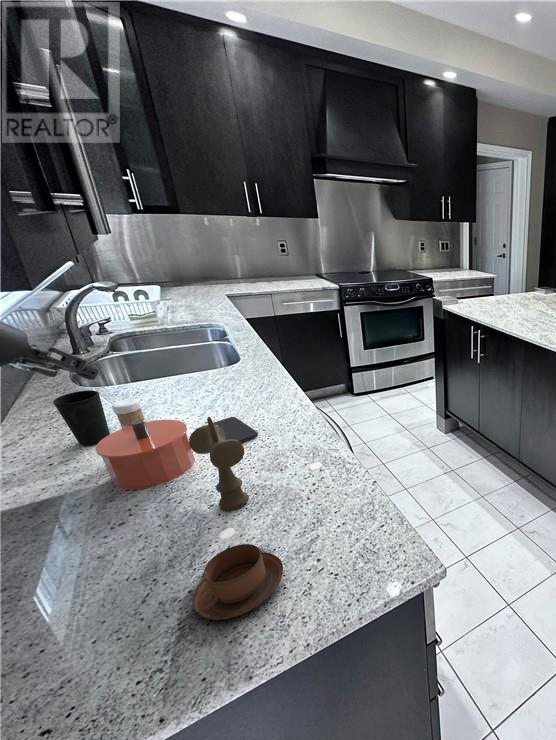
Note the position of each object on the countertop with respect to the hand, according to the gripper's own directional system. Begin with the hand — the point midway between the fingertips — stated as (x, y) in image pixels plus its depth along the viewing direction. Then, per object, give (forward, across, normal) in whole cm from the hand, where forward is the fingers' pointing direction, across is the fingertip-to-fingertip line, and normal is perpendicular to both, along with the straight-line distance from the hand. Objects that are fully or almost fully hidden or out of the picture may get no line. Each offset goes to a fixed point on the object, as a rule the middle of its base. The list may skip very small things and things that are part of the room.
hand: (75, 374), depth 81 cm
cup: (+24, +16, +10) cm, 30 cm away
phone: (+29, -14, +4) cm, 32 cm away
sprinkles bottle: (+21, 0, +12) cm, 24 cm away
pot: (+16, -11, +17) cm, 26 cm away
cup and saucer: (-2, -48, +35) cm, 60 cm away
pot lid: (+9, -11, +10) cm, 17 cm away
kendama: (+11, -33, +22) cm, 41 cm away
